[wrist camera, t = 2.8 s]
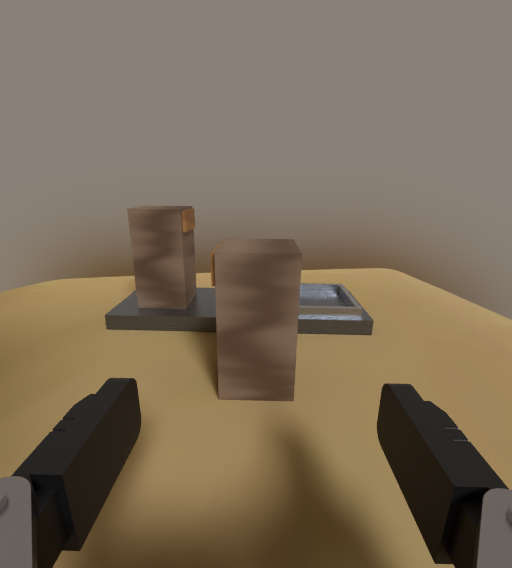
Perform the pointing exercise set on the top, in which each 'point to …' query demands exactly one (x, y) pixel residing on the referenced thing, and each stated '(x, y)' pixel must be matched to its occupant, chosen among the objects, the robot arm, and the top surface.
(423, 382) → the top surface
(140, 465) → the top surface
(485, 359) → the top surface
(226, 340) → the walnut finger
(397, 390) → the robot arm
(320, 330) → the rail
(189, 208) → the block
